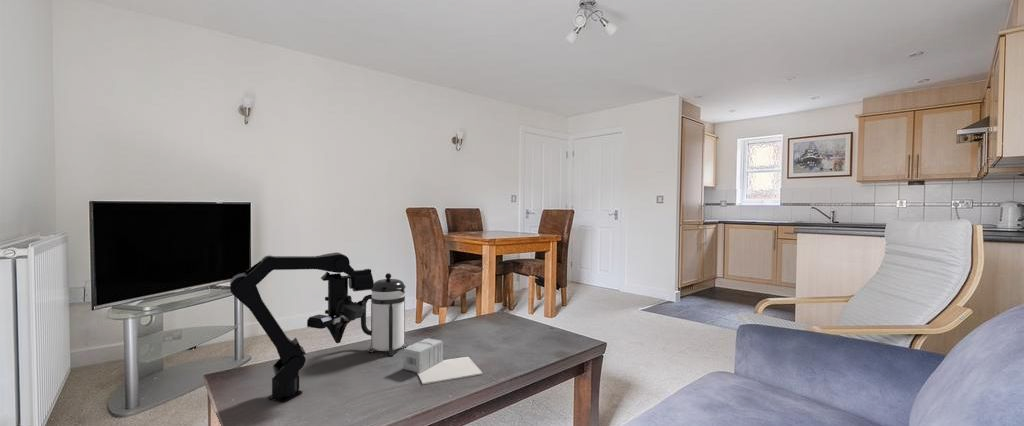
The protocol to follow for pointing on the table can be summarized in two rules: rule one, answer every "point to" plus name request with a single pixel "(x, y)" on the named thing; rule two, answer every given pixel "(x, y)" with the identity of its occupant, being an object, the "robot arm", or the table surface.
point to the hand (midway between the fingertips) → (338, 342)
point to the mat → (449, 370)
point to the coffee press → (386, 315)
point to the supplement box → (423, 355)
